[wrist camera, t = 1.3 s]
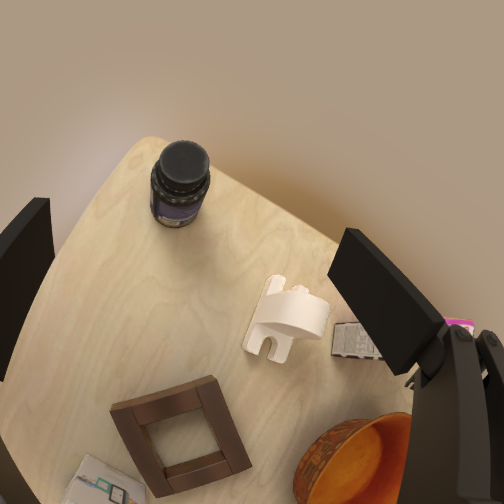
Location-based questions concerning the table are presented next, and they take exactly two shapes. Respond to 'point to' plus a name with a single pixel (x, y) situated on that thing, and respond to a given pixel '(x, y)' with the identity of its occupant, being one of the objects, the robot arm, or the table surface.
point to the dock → (171, 404)
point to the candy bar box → (361, 346)
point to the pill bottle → (179, 183)
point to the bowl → (355, 462)
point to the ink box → (102, 485)
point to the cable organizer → (285, 318)
